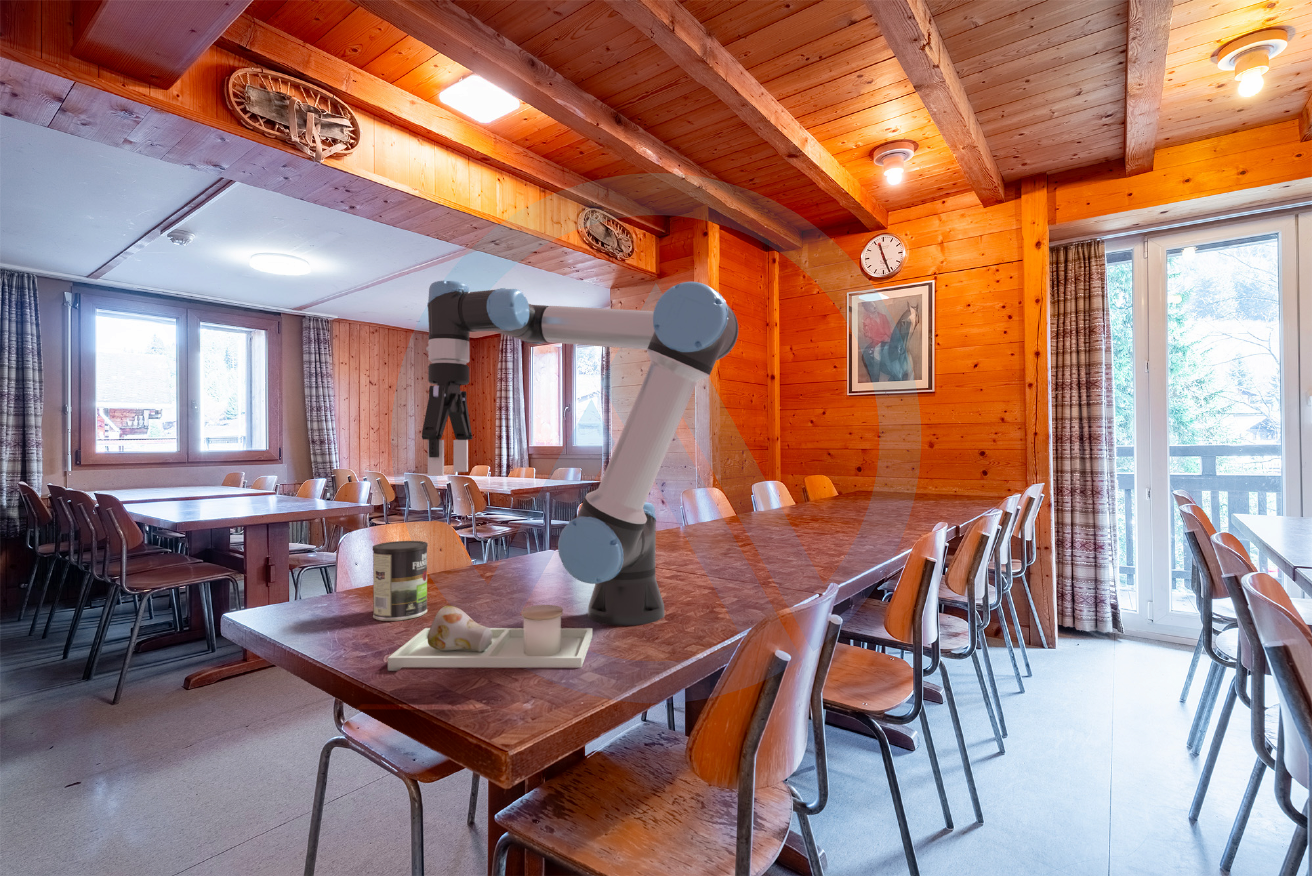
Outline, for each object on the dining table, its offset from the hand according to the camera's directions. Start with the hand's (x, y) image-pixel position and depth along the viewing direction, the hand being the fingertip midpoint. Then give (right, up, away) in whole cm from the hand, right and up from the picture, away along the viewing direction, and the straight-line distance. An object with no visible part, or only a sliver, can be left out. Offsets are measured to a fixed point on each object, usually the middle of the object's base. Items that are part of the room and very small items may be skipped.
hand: (449, 473), depth 116 cm
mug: (+8, -28, -17) cm, 34 cm away
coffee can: (-12, -29, +6) cm, 32 cm away
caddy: (+14, -29, -17) cm, 36 cm away
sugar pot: (+21, -28, -17) cm, 39 cm away
